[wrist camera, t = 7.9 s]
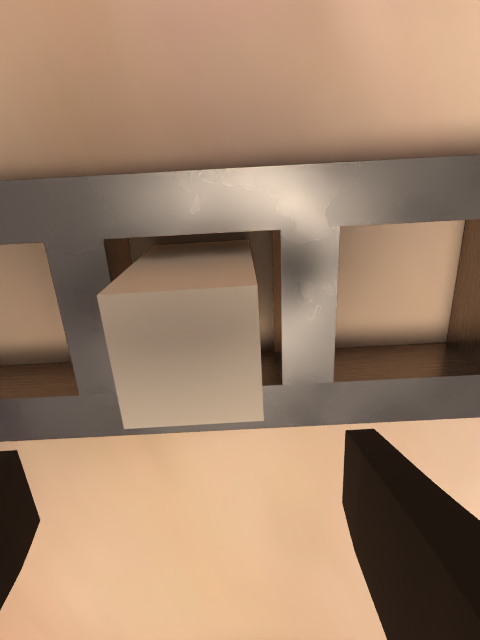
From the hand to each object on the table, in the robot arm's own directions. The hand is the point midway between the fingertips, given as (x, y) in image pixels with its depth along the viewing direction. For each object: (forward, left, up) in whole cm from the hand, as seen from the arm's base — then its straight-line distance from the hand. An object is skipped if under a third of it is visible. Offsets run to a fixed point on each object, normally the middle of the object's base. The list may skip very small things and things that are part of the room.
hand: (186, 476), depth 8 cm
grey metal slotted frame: (0, +1, -9) cm, 10 cm away
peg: (0, +2, -9) cm, 10 cm away
